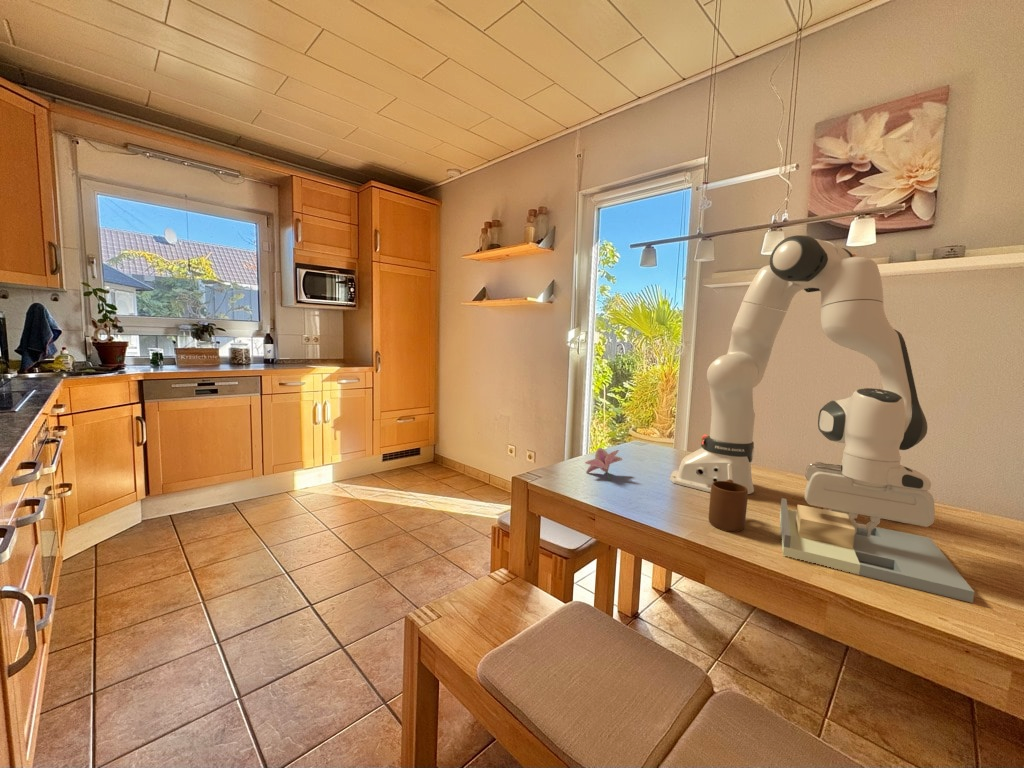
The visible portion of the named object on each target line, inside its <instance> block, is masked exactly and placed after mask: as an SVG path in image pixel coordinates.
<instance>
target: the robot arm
mask: <svg viewBox="0 0 1024 768" xmlns="http://www.w3.org/2000/svg"><path fill="white" fill-rule="evenodd" d="M802 290H803V291H805V292H806V293H814V292H815V293H816V292H820V326H821V329H822V331H823V333H824V334H825V336H826V337H827V338H828V339H829V340H830V341H832V342H833V343H835V344H837V345H839V346H840V347H843V348H846V349H849V350H851V351H855V352H858V353H860V354H863V355H864V356H866V357H868V358H869V359H871V360H872V361H873V362H874V363H875V364H876V366H877V367H878V370H879V375H880V380H881V385H882V388H881V389H880V388H873V387H872V388H868V387H867V388H859V389H856V390H855V391H854V392H853V393H852V395H851V396H849V397H846V398H843V399H837V400H836V399H835V400H831V401H829V402H827V403H826V404H824V405H823V407H822V408H820V410H819V412H818V417H817V418H818V419H817V427H818V431H819V432H820V434H822V435H823V436H824V437H825V439H827V440H828V441H832V442H834V443H837V444H838V443H839V444H845V445H844V446H845V447H844V449H843V453H842V458H841V459H842V460H841V464H834V463H824V462H821V461H815V463H810V464H809V465H807V466H806V469H805V475H804V476H805V479H806V480H807V482H806V486H805V489H804V500H805V501H806V503H807V505H809V506H812V507H813V506H814V507H817V508H821V507H824V508H829V509H834V510H839V511H845V512H847V515H848V517H849V519H850V521H851V523H852V524H853V526H854V528H855V534H857V535H862V536H866V537H870V536H871V530H873V529H874V528H875V527H878V525H880V523H881V520H883V519H884V520H889V521H893V522H898V523H903V524H908V525H914V526H920V527H926V528H927V527H929V526H931V525H932V524H934V521H935V514H936V513H935V512H936V511H935V510H936V509H935V508H936V507H935V506H936V505H935V500H934V497H933V494H931V492H930V491H929V490H930V489H931V487H932V482H931V480H930V479H929V478H928V477H927V476H926V475H925V474H923V473H921V472H920V471H918V470H915V469H912V468H910V467H907V466H905V465H902V464H901V453H900V451H906V450H910V449H911V448H913V447H914V446H917V445H918V444H919V443H920V442H921V441H923V440H924V438H925V437H926V436H927V434H928V433H927V432H928V422H927V419H926V418H927V417H926V416H925V413H924V411H923V409H922V407H921V405H920V401H919V398H918V393H917V388H916V384H915V378H914V373H913V368H912V365H911V360H910V356H909V352H908V349H907V344H906V342H905V338H904V337H903V335H902V333H901V332H900V331H899V330H896V329H895V328H894V327H893V326H892V325H891V324H890V321H889V319H888V318H887V316H886V313H885V309H884V289H883V283H882V278H881V273H880V268H879V266H878V264H877V262H875V260H873V259H871V258H869V257H868V258H867V257H863V256H854V254H853V253H852V252H851V251H849V250H848V249H846V248H844V247H840V246H839V245H837V244H836V243H833V242H831V241H828V240H822V239H818V238H814V237H812V236H810V235H800V234H799V235H798V234H797V235H792V236H789V237H788V236H787V237H786V238H784V239H783V240H781V241H780V242H779V243H778V244H777V245H776V246H775V247H774V249H773V250H772V252H771V253H770V258H769V264H767V265H765V266H763V267H761V268H760V269H759V270H758V271H757V273H756V275H755V276H754V277H753V279H752V280H751V283H750V285H749V286H748V288H747V290H746V292H745V294H744V297H743V299H742V301H741V304H740V307H739V309H738V310H737V311H738V312H737V314H736V317H735V319H734V321H733V324H732V327H731V333H730V335H731V337H730V339H729V340H730V341H729V345H728V349H727V353H726V354H723V355H720V356H718V357H717V358H716V359H714V360H713V361H712V362H711V363H710V365H709V366H708V368H707V372H706V379H707V383H708V384H709V397H710V404H711V414H710V415H711V417H710V429H709V434H703V435H702V436H701V443H700V444H701V445H700V446H701V447H700V448H698V449H697V450H695V451H693V452H691V453H689V454H687V455H686V456H684V457H683V459H681V461H680V465H679V468H677V469H675V470H673V471H672V472H671V473H670V481H671V482H672V483H673V484H675V485H680V486H684V487H688V488H691V489H696V490H700V491H704V492H707V493H711V487H712V483H713V482H715V481H727V480H728V479H730V480H732V481H733V482H734V483H737V484H740V485H743V486H745V487H746V488H747V490H748V495H751V494H753V493H754V492H755V487H754V483H753V482H754V481H753V476H752V462H753V459H754V454H755V453H754V451H755V446H754V445H755V443H754V441H753V438H754V437H753V436H754V428H755V427H754V426H755V419H756V418H755V417H756V415H755V410H754V409H755V408H754V400H753V399H754V397H753V396H754V395H753V394H754V393H753V392H754V391H753V390H754V388H755V387H757V386H759V384H760V383H761V382H762V380H763V378H764V376H765V375H764V374H765V373H766V369H767V366H768V364H769V360H770V357H771V353H772V350H773V347H774V343H775V341H776V338H777V335H778V333H779V331H780V328H781V326H782V324H783V322H784V319H785V317H786V314H787V312H788V311H789V310H788V309H789V307H790V305H791V302H792V300H793V298H794V297H795V295H796V294H797V293H798V292H800V291H802ZM858 515H861V516H867V517H868V518H869V521H868V522H867V523H866V524H864V525H860V524H861V523H859V524H856V523H857V522H856V520H855V519H858ZM865 525H866V526H865Z"/></svg>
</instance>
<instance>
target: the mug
mask: <svg viewBox="0 0 1024 768" xmlns="http://www.w3.org/2000/svg"><path fill="white" fill-rule="evenodd" d="M709 493H710V494H709V509H708V521H709V523H710V525H712V526H713V527H714V526H715V528H716V529H718V530H721V529H722V531H725V530H726V531H725V532H731V531H737V532H740V531H743V530H744V528H745V525H746V518H747V506H748V495H749V494H748V490H747V488H746V487H745V486H743V485H740V484H737V483H734V482H733V481H732V480H730V479H728V480H727V481H715V482H713V483H712V487H711V492H709Z"/></svg>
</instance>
